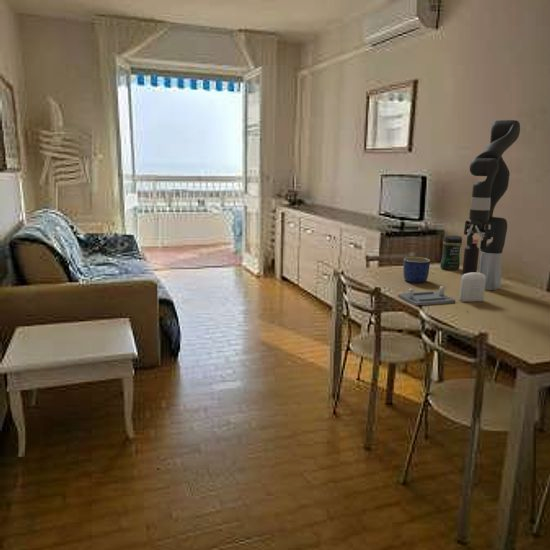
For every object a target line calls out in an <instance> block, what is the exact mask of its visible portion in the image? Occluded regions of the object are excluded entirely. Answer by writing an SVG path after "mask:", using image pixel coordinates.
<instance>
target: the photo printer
mask: <svg viewBox="0 0 550 550" xmlns="http://www.w3.org/2000/svg"><path fill="white" fill-rule="evenodd" d="M485 282H486V276H485V275H484V274H481V273H478V271H477V272H471V273H466V274H463V275H462V274H461V277H460V284H459V285H460V286H459V294H458V296H459V297H458V300H459V301H460V302H483V301H484V298H485Z"/></svg>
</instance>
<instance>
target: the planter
mask: <svg viewBox="0 0 550 550" xmlns="http://www.w3.org/2000/svg"><path fill="white" fill-rule="evenodd" d="M430 263H431V259H428V258H426V257H420V256H409V257H404V258H403V278H404V280H405V281H406V282H408V281H409V282H408V283H413V282H414V283H415V284H421V283H425V282H426V281H427V280H428V278H429V272H430V266H431V265H430Z"/></svg>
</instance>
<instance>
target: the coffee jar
mask: <svg viewBox="0 0 550 550" xmlns="http://www.w3.org/2000/svg"><path fill="white" fill-rule="evenodd" d="M442 244H443V250H442V257H441V260H440V266H439V267H440V268H441V270H446V271H457V270H460V267H461V266H460V263H461V262H460V258H461V256H460V254H461V253H460V252H461V251H460V250H461V247H462V245H463V237H462V236H460V235H444V237H443V239H442Z"/></svg>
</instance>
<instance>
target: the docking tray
mask: <svg viewBox="0 0 550 550" xmlns="http://www.w3.org/2000/svg"><path fill="white" fill-rule="evenodd" d="M397 298H399V299H401V300H403V301H405V302H407V303H409V304H411V305H412V306H414V307H419V306H418V305H422V306H432V305H443V304H444V305H445V304H454V303H456V299H454V298H452V297H450V296H448V295H446V294H445V285H444V286H442V285H440V286H439V291H435V290H434V291H433V290H432V291H431V290H430V291H418V292H417V291H416V292H415V289H414V288H408V292H407V293H398V294H397Z"/></svg>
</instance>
